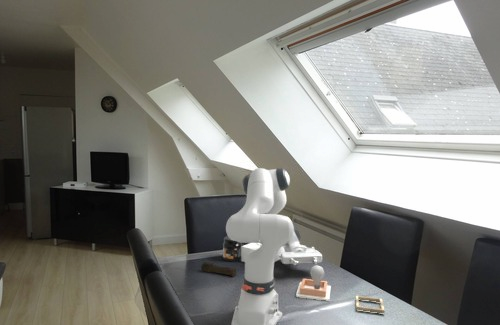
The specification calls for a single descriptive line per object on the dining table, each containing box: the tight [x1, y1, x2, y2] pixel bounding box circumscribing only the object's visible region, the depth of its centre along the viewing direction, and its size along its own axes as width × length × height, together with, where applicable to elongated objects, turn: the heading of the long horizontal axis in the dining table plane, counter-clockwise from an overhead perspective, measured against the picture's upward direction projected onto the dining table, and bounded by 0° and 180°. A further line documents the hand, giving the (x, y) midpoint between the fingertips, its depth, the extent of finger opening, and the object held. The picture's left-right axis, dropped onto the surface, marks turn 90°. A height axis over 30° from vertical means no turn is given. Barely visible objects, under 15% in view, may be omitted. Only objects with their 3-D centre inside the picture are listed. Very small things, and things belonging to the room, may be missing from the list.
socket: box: [295, 278, 332, 302], centre depth 156 cm, size 14×14×4 cm
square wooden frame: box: [355, 295, 386, 314], centre depth 143 cm, size 10×10×2 cm
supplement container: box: [222, 235, 243, 262], centre depth 197 cm, size 10×10×12 cm
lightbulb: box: [309, 264, 325, 289], centre depth 156 cm, size 6×6×11 cm
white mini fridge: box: [240, 239, 285, 263], centre depth 199 cm, size 14×25×11 cm, turn 140°
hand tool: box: [201, 262, 237, 278], centre depth 177 cm, size 19×4×5 cm, turn 65°
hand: (306, 263), depth 166 cm, fingers open, 8 cm apart
